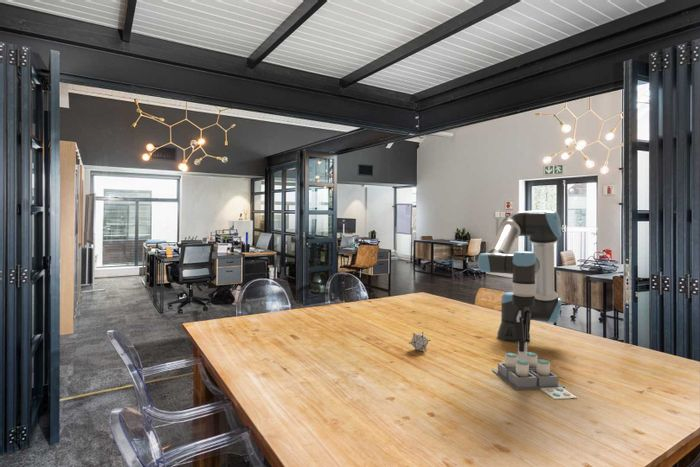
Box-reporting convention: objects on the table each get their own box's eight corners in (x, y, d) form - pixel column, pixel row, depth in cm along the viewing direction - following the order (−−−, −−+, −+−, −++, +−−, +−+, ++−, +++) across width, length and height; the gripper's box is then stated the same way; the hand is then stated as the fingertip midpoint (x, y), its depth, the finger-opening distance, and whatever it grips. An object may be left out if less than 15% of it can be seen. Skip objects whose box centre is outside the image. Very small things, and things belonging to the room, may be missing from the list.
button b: (513, 364, 155) (513, 352, 155) (519, 368, 151) (519, 356, 150) (502, 365, 155) (502, 352, 154) (508, 369, 150) (508, 356, 150)
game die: (423, 359, 180) (429, 346, 174) (405, 351, 182) (411, 338, 176) (427, 345, 187) (433, 331, 181) (409, 337, 189) (416, 324, 183)
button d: (533, 364, 156) (533, 351, 156) (539, 368, 151) (539, 355, 151) (522, 364, 155) (522, 352, 155) (528, 368, 151) (528, 356, 151)
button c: (545, 371, 148) (545, 358, 148) (552, 376, 144) (552, 363, 143) (533, 372, 147) (534, 359, 147) (540, 376, 143) (541, 363, 143)
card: (561, 388, 141) (561, 386, 141) (577, 398, 133) (577, 396, 133) (540, 389, 140) (540, 387, 140) (554, 399, 132) (554, 397, 132)
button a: (524, 372, 147) (524, 359, 147) (531, 377, 143) (531, 363, 143) (513, 373, 147) (513, 360, 146) (519, 377, 142) (519, 364, 142)
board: (535, 369, 159) (535, 360, 159) (564, 388, 141) (564, 378, 141) (492, 370, 157) (492, 361, 157) (515, 390, 139) (516, 380, 139)
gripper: (518, 290, 151) (517, 352, 152) (506, 295, 141) (505, 362, 142) (539, 293, 146) (538, 357, 147) (529, 298, 136) (528, 367, 137)
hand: (522, 359), depth 144 cm, fingers closed
